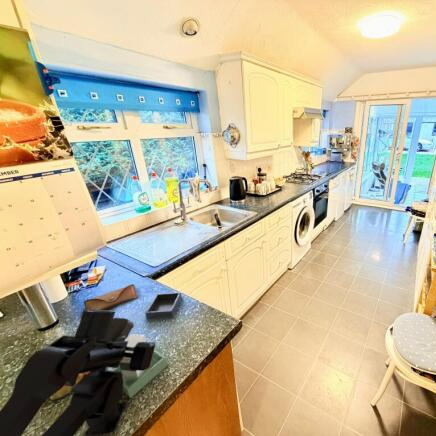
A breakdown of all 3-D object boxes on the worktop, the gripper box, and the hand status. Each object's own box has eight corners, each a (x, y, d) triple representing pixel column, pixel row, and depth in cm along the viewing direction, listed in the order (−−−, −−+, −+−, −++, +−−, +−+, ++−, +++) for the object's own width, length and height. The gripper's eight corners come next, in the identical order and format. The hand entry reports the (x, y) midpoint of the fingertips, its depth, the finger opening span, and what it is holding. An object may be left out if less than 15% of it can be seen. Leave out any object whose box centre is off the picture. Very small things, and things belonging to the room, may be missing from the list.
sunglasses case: (86, 318, 90) (81, 302, 91) (88, 316, 96) (82, 301, 96) (139, 297, 102) (135, 282, 102) (138, 296, 107) (133, 283, 108)
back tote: (173, 318, 92) (171, 311, 91) (146, 320, 91) (145, 312, 89) (182, 298, 102) (180, 292, 101) (158, 300, 101) (157, 293, 100)
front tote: (130, 398, 65) (127, 390, 63) (112, 380, 69) (108, 372, 68) (167, 365, 74) (165, 357, 72) (149, 351, 78) (147, 343, 77)
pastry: (88, 364, 74) (84, 355, 72) (95, 377, 70) (92, 368, 69) (47, 389, 67) (42, 380, 65) (53, 405, 63) (48, 396, 62)
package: (139, 383, 68) (129, 353, 64) (125, 381, 68) (114, 352, 64) (153, 363, 74) (145, 335, 69) (139, 362, 74) (130, 333, 70)
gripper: (142, 323, 58) (175, 322, 72) (73, 316, 60) (119, 317, 74) (126, 376, 53) (164, 364, 68) (52, 367, 55) (105, 358, 69)
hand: (138, 349), depth 70 cm, fingers open, 9 cm apart
